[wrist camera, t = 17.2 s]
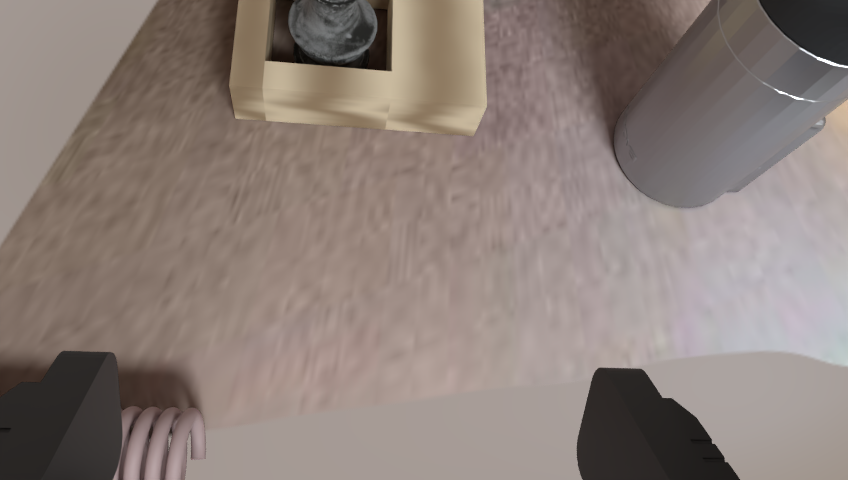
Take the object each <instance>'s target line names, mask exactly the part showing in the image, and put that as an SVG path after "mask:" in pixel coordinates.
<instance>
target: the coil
mask: <svg viewBox="0 0 848 480" xmlns="http://www.w3.org/2000/svg"><path fill="white" fill-rule="evenodd" d="M121 417H122V430H123V437H122V449H121V455H120V460H119V464H118V468H117V471H116V473H115V476H114V478H113V480H185V473H186V462H187V440H188V436H189V433H190V431H191V460H200V459H205V458H206V437H205V426H204V421H203V417H202V414H201V412H200V411H199V410H198V409H196V408H188V409H186V410H185V411H184V412H183V413H182V412H181V411H180V410H179V409H178V408H176V407H170V408H167V409H165V410H164V411H163V412H162V410H160V409H159V408H158V407H149V408H147V409H145V410H144V411H143V410H142V409H140V408H139V407H137V406H130V407H128V408H126V409H124V410H122V409H121ZM131 424H132V425H133V430H132V433H131V436H130V426H131ZM151 426H152V429H153V433H152V436H151V440H150V443H149V430H150V428H151ZM170 429H172V439H171V443H170V447H169V452H168V435H169V432H170Z"/></svg>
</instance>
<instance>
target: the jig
mask: <svg viewBox="0 0 848 480" xmlns="http://www.w3.org/2000/svg"><path fill="white" fill-rule="evenodd" d="M294 1H295V0H294ZM366 1H368V2H369V4H370V5H371V7H372V8H376V9H386V10H388V12H387V60H386V71H380V70H368V69H356V68H344V67H333V66H321V65H309V64H297V63H286V62H274V61H271V58H272V47H273V36H274V24H275V13H276V2H277V0H239V1H238V10H237V19H236V28H235V37H234V46H233V55H232V64H231V73H230V82H229V88H230V93H231V98H232V103H233V109H234V114H235V119H249V120H262V121H276V122H289V123H303V124H317V125H330V126H344V127H357V128H371V129H385V130H398V131H412V132H425V133H439V134H453V135H466V136H474V134H475V132H476V130H477V127H478V125H479V123H480V120H481V118H482V116H483V114H484V111H485V109H486V107H487V96H486V69H485V42H484V15H483V0H366Z"/></svg>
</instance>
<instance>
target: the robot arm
mask: <svg viewBox="0 0 848 480" xmlns="http://www.w3.org/2000/svg"><path fill="white" fill-rule="evenodd" d="M847 99H848V0H711V1H710V2H709V4H708V5H707V6H706V7H705V9H704V10H703V11H702V12H701V14H700V15H699V16H698V17H697V19H696V20H695V21H694V23H693V24H692V25H691V26H690V28H689V29H688V30H687V31H686V33H685V34H684V35H683V36H682V38H681V39H680V40H679V41H678V43H677V44H676V45H675V47H674V48H673V49H672V50H671V52H670V53H669V54H668V55H667V57H666V58H665V59H664V60H663V62H662V63H661V64H660V65H659V67H658V68H657V69H656V71H655V72H654V73H653V74H652V76H651V77H650V78H649V79H648V81H647V82H646V83H645V84H644V86H643V87H642V88H641V89H640V91H639V92H638V93H637V94H636V96H635V97H634V98H633V99H632V101H631V102H630V103H629V105H628V106H627V107H626V108H625V110H624V111H623V112H622V114H621V116H620V117H619V119H618V121H617V123H616V127H615V131H614V147H615V152H616V157H617V159H618V161H619V164H620V166H621V168H622V170H623V171H624V173H625V174H626V176H627V177H628V179H629V180H630V181H631V182H632V183H633V184H634V185H635V186H636V187H637V188H638V189H639V190H640V191H642V192H643V193H644V194H646V195H647V196H649V197H650V198H652V199H654V200H656V201H658V202H661V203H663V204H666V205H670V206H674V207H681V208H692V207H698V206H703V205H705V204H708V203H710V202H712V201H714V200H715V199H717V198H718V197H719V196H721V195H722V194H723V193H725V192H738V191H740V190H741V189H742V188H744V187H745V186H747V185H748V184H749V183H751V182H752V181H753V180H755V179H756V178H757V177H759V176H760V175H761V174H763V173H764V172H765V171H767V170H768V169H770V168H771V167H772V166H774V165H775V164H776V163H778V162H779V161H780V160H782V159H783V158H784V157H786V156H787V155H788V154H790V153H791V152H793V151H794V150H795V149H797V148H798V147H799V146H801V145H802V144H803V143H805V142H806V141H807V140H809V139H810V138H811V137H813V136H814V135H816V134H817V133H818V132H820V131H821V130H822V129H823V128H824V126H825V123H826V119H825V116H826V115H828V114H829V113H830V112H832V111H833V110H834V109H836V108H837V107H838V106H840V105H841V104H842V103H844V102H845V101H846V100H847ZM122 437H123V430H122V417H121V405H120V393H119V380H118V368H117V361H116V357H115V355H114V353H112V352H82V351H62V352H61V353H60V354H59V355H58V356H57V358H56V359H55V361H54V362H53V364H52V366H51V367H50V369H49V370H48V372H47V373H46V375H45V376H44V378H43V380H42V381H41V383H39V382H21V383H20V384H18V385H17V386H15V387H14V388H13V389H11V390H10V391H8V392H7V393H6V394H4V395H3V396H1V397H0V480H113V478H114V476H115V473H116V471H117V468H118V464H119V460H120V455H121V449H122ZM577 460H578V467H579V471H580V474H581V477H582V479H583V480H740V479H739V478H738V476H737V475H736V473H735V472H734V470H733V469H732V468H731V466H730V465H729V464H728V463H727V462H725V460H724V456H723V455H722V453H721V452H720V451H719V449H718V448H717V446H716V445H715V444H712V439H711V438H710V436H709V435H708V433H707V432H706V431H705V429H704V428H703V426H702V425H701V424H700V422H699V421H698V419H697V418H696V417H695V416H694V415H692V414H691V413H690V412H689V411H687V410H686V409H685V408H683V407H682V406H681V405H680V404H678V403H677V402H676V401H674V400H673V399H672V398H662V396H661V395H660V393H659V392H658V390H657V389H656V387H655V386H654V385H653V383H652V381H651V380H650V378H649V377H648V375H647V374H646V373H645V371H643V370H642V369H628V368H598V369H597V370H596V371H595V373H594V375H593V378H592V381H591V386H590V390H589V394H588V398H587V402H586V406H585V411H584V415H583V419H582V423H581V428H580V431H579V435H578V442H577Z"/></svg>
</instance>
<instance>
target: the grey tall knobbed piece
mask: <svg viewBox="0 0 848 480" xmlns="http://www.w3.org/2000/svg"><path fill="white" fill-rule="evenodd" d="M288 25H289V30H290V33H291V35H292V37H293V38H294V40H295V44H294V58H295V62H296V63H297V64H309V65H321V66H333V67H344V68H356V69H366V67H367V64H368V61H369V50H368V48H369V46H370V45H371V44H372V42H373V41H374V38H375V36H376V33H377V18H376V15H375V12H374V10H373V8H372V7H371V5H370V4H369V2H368V1H366V0H295V2H294V3H293V4H292V6H291V9H290V11H289V16H288Z"/></svg>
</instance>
